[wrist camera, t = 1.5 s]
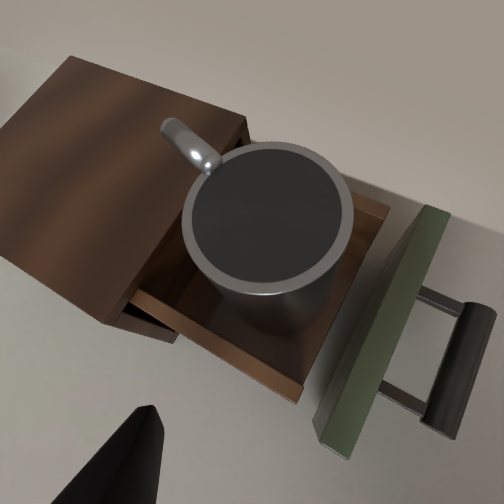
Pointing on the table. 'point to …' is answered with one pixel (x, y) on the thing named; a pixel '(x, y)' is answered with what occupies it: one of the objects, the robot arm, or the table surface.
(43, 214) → the cabinet
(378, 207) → the drawer
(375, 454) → the table surface
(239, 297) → the cup
